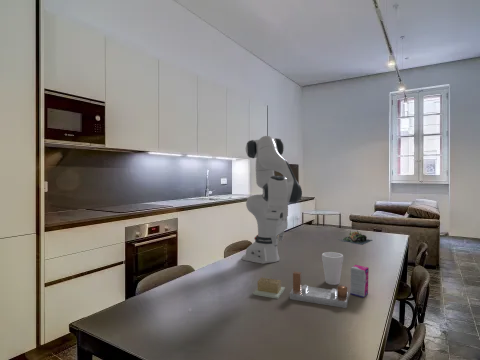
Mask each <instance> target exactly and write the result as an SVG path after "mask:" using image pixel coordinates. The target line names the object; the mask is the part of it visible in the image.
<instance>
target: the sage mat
mask: <svg viewBox="0 0 480 360" xmlns="http://www.w3.org/2000/svg"><path fill="white" fill-rule="evenodd" d="M285 290H286V286H281V290H280V291H279V293H278V294H277V293H271V292H264V291H258V287H257V288H256V289H255V290H254V291H253V292H252V295H253V296H260V297H266V298H270V299H271V298H272V299H277V300H278V299H279V298H280V297H281V296H282V294H283V292H284V291H285Z"/></svg>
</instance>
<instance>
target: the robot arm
mask: <svg viewBox="0 0 480 360" xmlns="http://www.w3.org/2000/svg"><path fill="white" fill-rule="evenodd" d="M284 151H285V145H284V142H283V140H282V139H281V138H273V137H272V136H270V135H263V136H261V137H260V138H259V139H251V140H249V141H247V143H246V146H245V152H246V155H247V157H248V158H251V159H255V179H256V180H255V181H256V182H255V183H256V185H257V186H258V187H259V188H261V189H262V194H254V195H250V196H249V197H248V198H247V199H246V203H245V206H246V210H247V211H248V212H249V213H251V214H252V215H253V217H254V218H255V220H256V223H257V235H256V236H254V242H253V243H252V244H250V245H249V246H247V247H246V250H245V254H243V255H242V256H241V260H242V261H246V262H251V263H256V264H263V265H264V264H270V263H277V262H279V261H280V260H281V259H280V256H279V251H278V250H279V249H278V241H281V242H282V241H283V240H284V236H285V231H286V230H287V229H288V227H289V225H288V217H289V204H296V203H298V202H299V201H300V200H301V198H302V196H303V191H302V186H301V185H300V183H299V182H298V181H297V178H296V177H295V174H294V172H293V170H292V168H291V166H290V164H289V161H288V160H287V159H285V158H284V157H283V156H282V155H283V153H284ZM275 172H277V173H280V174H281V175H275ZM288 203H289V204H288Z"/></svg>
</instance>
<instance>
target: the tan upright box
mask: <svg viewBox="0 0 480 360" xmlns="http://www.w3.org/2000/svg"><path fill="white" fill-rule="evenodd" d="M281 287H282V280H281V279H274V278H267V277H260V278H259V279H258V280H257V288H258V291H264V292H271V293H277V294H278V293H279V291H280V290H281Z"/></svg>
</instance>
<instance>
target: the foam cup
mask: <svg viewBox="0 0 480 360" xmlns="http://www.w3.org/2000/svg"><path fill="white" fill-rule="evenodd" d="M321 260H322V265H323V273H324V280H325V281H324V282H325V283H326V284H328V285H333V286H334V285H335V286H338V285H340V282H341V276H342V268H343V261H344V255H343V253H339V252H335V251H334V252H333V251H328V252H323V253H322V254H321Z"/></svg>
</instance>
